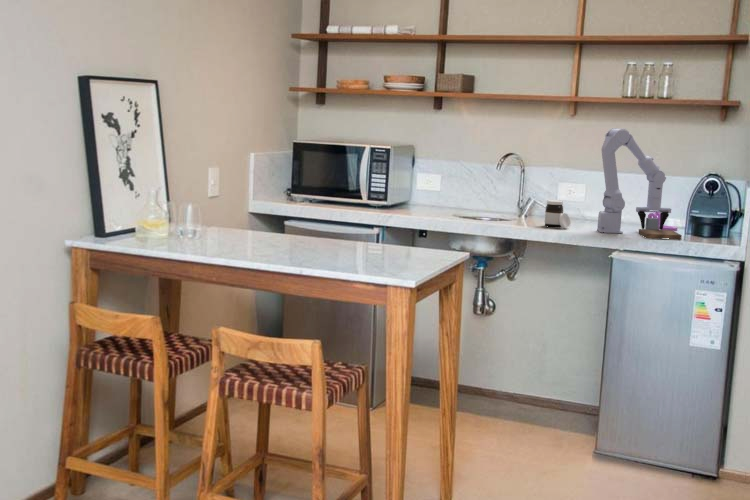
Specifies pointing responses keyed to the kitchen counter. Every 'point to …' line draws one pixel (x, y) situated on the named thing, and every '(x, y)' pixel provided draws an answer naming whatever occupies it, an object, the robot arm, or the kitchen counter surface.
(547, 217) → the spread jar
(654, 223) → the slate block
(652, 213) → the bracket
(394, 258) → the kitchen counter surface
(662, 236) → the walnut board
